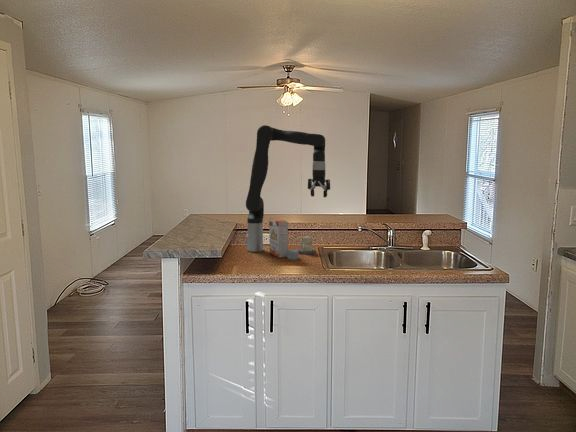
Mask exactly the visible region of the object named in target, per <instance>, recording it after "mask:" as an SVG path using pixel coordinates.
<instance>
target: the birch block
mask: <svg viewBox="0 0 576 432" xmlns="http://www.w3.org/2000/svg"><path fill="white" fill-rule="evenodd" d="M300 249H301V250H302V251H312V250H313V249H312V237H311V236H309V235H305V236H300Z"/></svg>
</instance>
